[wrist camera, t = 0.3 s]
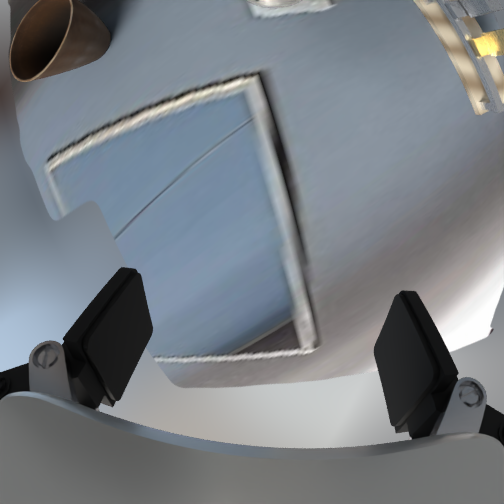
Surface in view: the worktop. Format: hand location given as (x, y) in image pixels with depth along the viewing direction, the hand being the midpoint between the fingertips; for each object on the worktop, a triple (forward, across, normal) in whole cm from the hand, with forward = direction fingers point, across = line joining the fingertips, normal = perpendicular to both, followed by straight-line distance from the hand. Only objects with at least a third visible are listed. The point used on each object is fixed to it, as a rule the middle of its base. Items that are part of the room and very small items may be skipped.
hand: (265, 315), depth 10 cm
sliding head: (+34, -33, -27) cm, 54 cm away
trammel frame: (+35, -33, -27) cm, 55 cm away
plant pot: (+37, +34, -23) cm, 55 cm away
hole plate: (+37, -34, -28) cm, 57 cm away
